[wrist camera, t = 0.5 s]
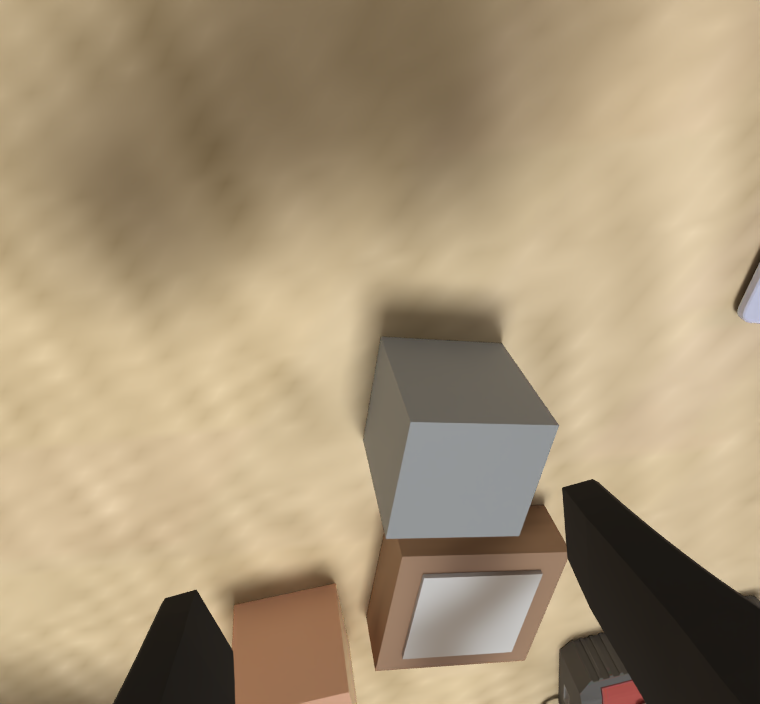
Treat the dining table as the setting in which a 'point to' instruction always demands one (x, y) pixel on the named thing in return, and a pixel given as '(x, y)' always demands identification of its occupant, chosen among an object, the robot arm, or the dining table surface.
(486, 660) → the walnut block
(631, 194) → the dining table surface
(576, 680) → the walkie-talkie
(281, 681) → the terracotta cube
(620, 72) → the dining table surface
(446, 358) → the slate cube
